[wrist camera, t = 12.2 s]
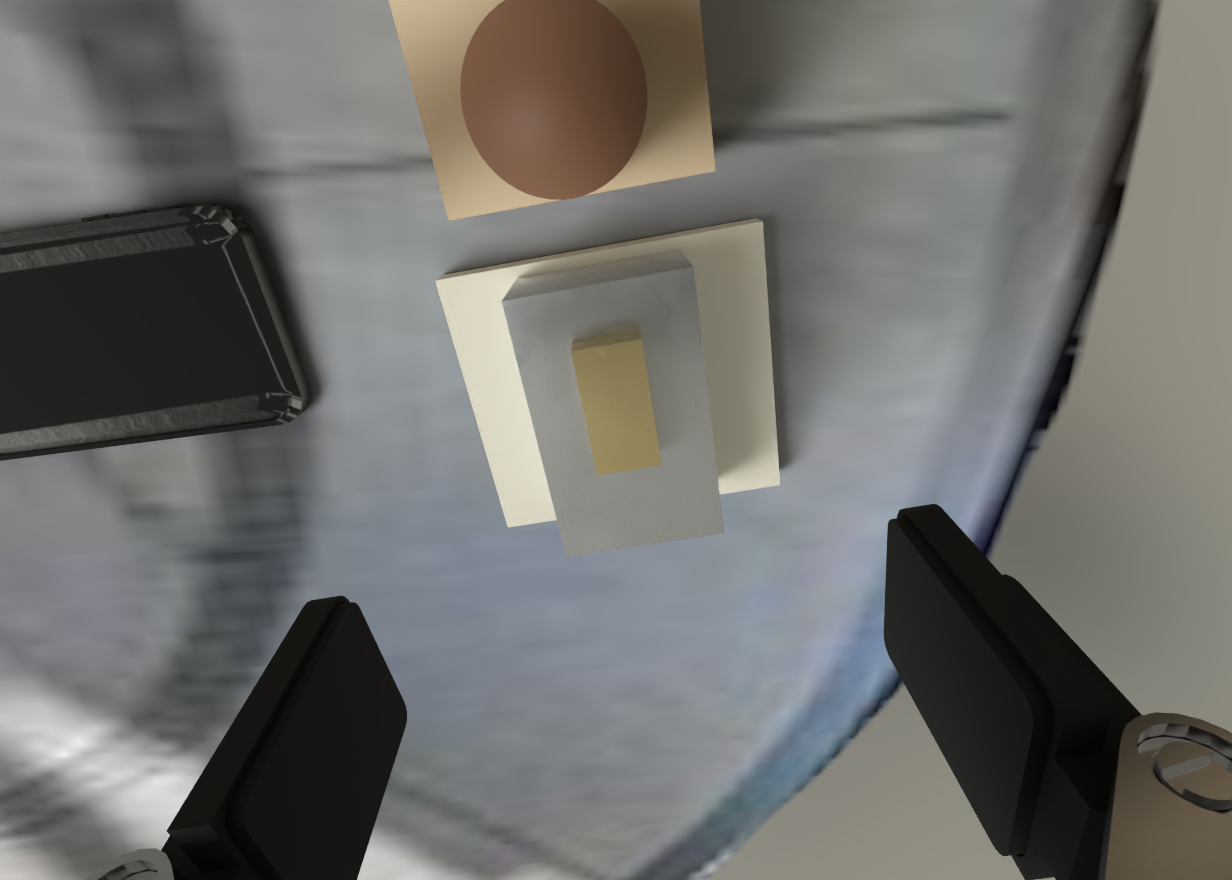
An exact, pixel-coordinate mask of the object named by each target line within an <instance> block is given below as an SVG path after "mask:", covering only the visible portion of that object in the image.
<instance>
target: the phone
mask: <svg viewBox="0 0 1232 880" xmlns="http://www.w3.org/2000/svg"><path fill="white" fill-rule="evenodd" d="M114 215H115V218H110V216H109V215H102V216H95V217H88V218H81V220H82V222H80V223H73V224H66V225H59V226H52V227H45V228H38V229H31V230H24V231H18V232H11V233H4V234H0V461H2V460H9V459H17V458H25V457H33V456H41V455H48V454H56V453H64V452H72V451H80V450H87V449H95V448H103V447H111V446H118V445H126V444H134V443H142V442H150V441H157V440H165V439H173V438H181V437H189V436H196V435H204V434H212V433H220V432H228V431H235V430H243V429H251V428H259V427H267V426H274V425H281V424H285V423H288V422H290V421H292V420H293V419H295V418H296V417H297V416H298V415H299V414H301V413H302V412H303V411H304V410H305V409H306V407H307V406H308V404H309V402H310V396H311V393H310V388H309V384H308V381H307V378H306V375H305V373H304V370H303V367H302V365H301V362H300V359H299V356H298V354H297V351H296V348H295V345H294V343H293V340H292V337H291V334H290V332H289V329H288V326H287V324H286V321H285V318H284V315H283V313H282V310H281V307H280V304H279V302H278V299H277V296H276V294H275V291H274V288H273V285H272V283H271V280H270V277H269V274H268V272H267V269H266V266H265V264H264V261H263V258H262V255H261V253H260V250H259V247H258V244H257V242H256V239H255V236H254V234H253V232H252V230H251V228H250V227H249V225H248V224H247V223H246V221H245V220H244V219H243V218H242V217H241V216H240V215H239V214H237V213H236V212H234V211H233V210H231V209H230V208H227V207H224V206H221V205H217V204H205V205H198V206H191V207H184V208H179V207H178V206H173V207H166V208H159V211H157V212H150V213H146V211H145V210H141V211H134V212H127V213H120V214H114Z"/></svg>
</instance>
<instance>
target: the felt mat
mask: <svg viewBox="0 0 1232 880" xmlns="http://www.w3.org/2000/svg"><path fill="white" fill-rule="evenodd" d="M679 248H680V249H681V251H682V252H683V253H684V255H685V256H686V257H687V259H688V260H689V261H690V263H691V264H692V266H693V267H694V275H695V283H696V292H697V301H698V309H699V318H700V327H701V336H702V344H703V353H704V362H705V371H706V379H707V388H708V397H709V405H710V414H711V423H712V432H713V440H714V449H715V458H716V466H717V475H718V484H719V493H720V494H726V493H732V492H739V491H745V490H752V489H758V488H765V487H771V486H777V485H780V476H779V461H778V445H777V430H776V415H775V399H774V384H773V369H772V353H771V338H770V323H769V307H768V292H767V277H766V261H765V246H764V231H763V221H761V220H759V219H757V218H754V219H749V220H743V221H738V222H732V223H727V224H721V225H715V226H710V227H704V228H699V229H693V230H688V231H682V232H677V233H671V234H666V235H660V236H655V237H649V238H644V239H638V240H633V241H627V242H622V243H616V244H611V245H605V246H599V247H594V248H588V249H583V250H577V251H572V252H566V253H561V254H555V255H550V256H544V257H539V258H533V259H528V260H522V261H517V262H511V263H506V264H500V265H495V266H489V267H484V268H478V269H472V270H467V271H461V272H456V273H450V274H445V275H442V276H440V277H439V278H438V279H437V280H435V281H436V285H437V288H438V292H439V295H440V298H441V302H442V305H443V309H444V312H445V315H446V319H447V322H448V326H449V329H450V332H451V336H452V339H453V343H454V346H455V349H456V353H457V356H458V360H459V363H460V366H461V370H462V373H463V377H464V380H465V383H466V387H467V390H468V394H469V397H470V400H471V404H472V407H473V411H474V414H475V417H476V421H477V424H478V427H479V431H480V434H481V438H482V441H483V444H484V448H485V451H486V455H487V458H488V461H489V465H490V468H491V472H492V475H493V478H494V482H495V485H496V489H497V492H498V495H499V499H500V502H501V506H502V509H503V512H504V516H505V519H506V523H507V526H508V527H514V526H521V525H527V524H534V523H540V522H546V521H553V520H557V519H556V515H555V511H554V507H553V503H552V499H551V495H550V491H549V487H548V483H547V479H546V475H545V471H544V467H543V463H542V459H541V456H540V452H539V448H538V444H537V440H536V436H535V432H534V428H533V424H532V420H531V416H530V412H529V408H528V404H527V400H526V396H525V392H524V388H523V384H522V380H521V376H520V372H519V368H518V364H517V360H516V356H515V352H514V348H513V344H512V340H511V337H510V333H509V329H508V325H507V321H506V317H505V313H504V309H503V305H502V300H503V298H504V297H505V295H506V294H507V292H508V291H509V289H510V288H511V286H512V285H513V283H514V282H515V280H516V279H517V277H523V276H528V275H534V274H540V273H545V272H551V271H556V270H562V269H567V268H573V267H579V266H584V265H590V264H595V263H601V262H606V261H612V260H618V259H623V258H629V257H634V256H640V255H645V254H651V253H657V252H662V251H668V250H673V249H679Z"/></svg>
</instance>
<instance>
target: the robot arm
mask: <svg viewBox="0 0 1232 880" xmlns="http://www.w3.org/2000/svg"><path fill="white" fill-rule="evenodd" d="M884 641H885V646H886V649H887V652H888V655H889V657H890V659H891V661H892V662H893V664H894V666H895V668H896V670H897V671H898V673H899V675H900V677H901V679H902V681H903V682H904V684H905V686H906V688H907V690H908V691H909V693H910V695H911V697H912V699H913V701H914V702H915V704H916V706H917V708H918V710H919V711H920V713H921V715H922V717H923V719H924V720H925V722H926V724H927V726H928V728H929V729H930V731H931V733H932V735H933V737H934V739H935V741H936V742H937V744H938V746H939V748H940V750H941V751H942V753H943V755H944V757H945V759H946V761H947V762H948V764H949V766H950V768H951V770H952V771H953V773H954V775H955V777H956V779H957V781H958V782H959V784H960V786H961V788H962V789H963V791H964V793H965V795H966V797H967V799H968V800H969V802H970V804H971V806H972V808H973V809H974V811H975V813H976V815H977V817H978V818H979V820H980V822H981V824H982V826H983V828H984V829H985V831H986V833H987V835H988V837H989V838H990V840H991V842H992V844H993V846H994V847H995V849H996V850H997V851H998V852H999V853H1000V854H1001V855H1002V856H1008V855H1011V856H1012V858H1013V859H1014V861H1015V863H1016V865H1017V866H1018V868H1019V870H1020V872H1021V874H1022V875H1023V877H1024V879H1025V880H1034V879H1042V878H1050V877H1055V879H1056V880H1232V733H1231V732H1229V731H1227V730H1225V729H1223V728H1220V727H1218V726H1216V725H1213V724H1211V723H1209V722H1206V721H1204V720H1201V719H1197V718H1193V717H1189V716H1185V715H1181V714H1177V713H1156V712H1155V713H1150V714H1146V715H1141V714H1140V713H1139V712H1138V710H1137V709H1136V708H1135V707H1134V706H1133V705H1132V704H1131V703H1130V702H1129V701H1128V700H1127V699H1126V697H1125V696H1124V695H1123V694H1122V693H1121V692H1120V691H1119V690H1118V689H1117V688H1116V687H1115V686H1114V684H1113V683H1112V682H1111V681H1110V680H1109V679H1108V678H1107V677H1106V676H1105V675H1104V674H1103V672H1102V671H1100V669H1099V668H1098V667H1097V666H1096V665H1095V664H1094V663H1093V662H1092V661H1091V659H1090V658H1089V657H1088V656H1087V655H1086V654H1085V653H1084V652H1083V651H1082V650H1081V649H1080V648H1079V646H1078V645H1077V644H1076V643H1075V642H1074V641H1073V640H1072V639H1071V638H1070V637H1069V636H1068V635H1067V634H1066V632H1065V631H1064V630H1063V629H1062V628H1061V627H1060V626H1059V625H1058V624H1057V623H1056V622H1055V621H1054V620H1053V618H1052V617H1051V616H1050V615H1049V614H1048V613H1047V612H1046V611H1045V610H1044V609H1043V608H1042V606H1041V605H1040V604H1039V603H1038V602H1037V601H1036V600H1035V599H1034V598H1033V597H1032V596H1031V595H1030V593H1029V592H1028V591H1027V590H1026V589H1025V588H1024V587H1023V586H1022V585H1021V584H1020V583H1019V582H1018V581H1017V580H1016V579H1014V578H1013V577H1011V576H1008V575H1006V574H1005V575H1001V573H1000V572H999V571H998V570H997V569H996V568H995V567H994V566H993V565H992V563H991V562H990V561H989V560H988V559H987V558H986V557H985V556H984V555H983V553H982V552H981V551H980V550H979V549H978V548H977V547H976V546H975V545H974V543H973V542H972V541H971V540H970V539H969V538H968V537H967V536H966V535H965V533H964V532H963V531H962V530H961V529H960V528H959V527H958V526H957V525H956V523H955V522H954V521H953V520H952V519H951V518H950V517H949V516H948V515H947V513H946V512H945V511H944V510H943V509H942V508H941V507H940V506H939V505H936V504H930V505H924V506H918V507H911V508H905V509H901V510H899V513H898V516H897V519H891V520H890V521H889V523H888V534H887V561H886V588H885V615H884ZM406 722H407V710H406V705H405V703H404V700H403V698H402V696H401V694H400V692H399V690H398V688H397V686H396V684H395V681H394V679H393V677H392V675H391V673H390V671H389V669H388V667H387V664H386V662H385V660H384V658H383V656H382V654H381V652H380V650H379V648H378V645H377V643H376V641H375V639H374V637H373V635H372V633H371V631H370V629H369V626H368V624H367V622H366V620H365V618H364V616H363V614H362V612H361V609H360V608H359V606H358V605H357V604H356V603H353V602H352V603H350V602H349V600H348V599H347V598H346V597H344V596H336V597H330V598H323V599H317V600H311V601H309V602H307V603H306V604H305V606H304V607H303V609H302V610H301V612H300V613H299V615H298V617H297V618H296V620H295V622H294V623H293V625H292V627H291V628H290V630H289V631H288V633H287V635H286V636H285V638H284V640H283V641H282V643H281V645H280V646H279V648H278V649H277V651H276V653H275V654H274V656H273V658H272V659H271V661H270V663H269V664H268V666H267V667H266V669H265V671H264V672H263V674H262V676H261V677H260V679H259V681H258V682H257V684H256V686H255V687H254V689H253V690H252V692H251V694H250V695H249V697H248V699H247V700H246V702H245V704H244V705H243V707H242V708H241V710H240V712H239V713H238V715H237V717H236V718H235V720H234V722H233V723H232V725H231V726H230V728H229V730H228V731H227V733H226V735H225V736H224V738H223V740H222V741H221V743H220V744H219V746H218V748H217V749H216V751H215V753H214V754H213V756H212V758H211V759H210V761H209V762H208V764H207V766H206V767H205V769H204V771H203V772H202V774H201V776H200V777H199V779H198V780H197V782H196V784H195V785H194V787H193V789H192V790H191V792H190V794H189V795H188V797H187V799H186V800H185V802H184V803H183V805H182V807H181V808H180V810H179V812H178V813H177V815H176V817H175V818H174V820H173V821H172V823H171V825H170V826H169V828H168V830H167V832H168V833H169V834H170V837H169V838H168V840H167V842H166V843H165V845H164V847H163V848H162V850H161V851H160V850H157V849H139V850H136V851H134V852H131V853H128V854H125V855H122V856H120V857H119V858H117V859H115V860H113V861H111V862H110V863H108V864H106V865H104V866H103V867H101V868H100V869H99V870H98V871H96V872H95V873H94V874H92V875H91V876H90V877H89V878H87V879H86V880H357V877H358V874H359V871H360V868H361V865H362V862H363V859H364V855H365V852H366V849H367V846H368V843H369V840H370V837H371V833H372V830H373V827H374V824H375V821H376V818H377V815H378V812H379V808H380V805H381V802H382V799H383V796H384V793H385V790H386V786H387V783H388V780H389V777H390V774H391V771H392V768H393V765H394V761H395V758H396V755H397V752H398V749H399V746H400V743H401V739H402V736H403V733H404V730H405V727H406Z"/></svg>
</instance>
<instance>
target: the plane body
mask: <svg viewBox="0 0 1232 880" xmlns="http://www.w3.org/2000/svg"><path fill="white" fill-rule="evenodd" d="M389 3H390V7H391V10H392V14H393V18H394V21H395V25H396V28H397V32H398V36H399V39H400V43H401V47H402V50H403V54H404V58H405V61H406V65H407V69H408V72H409V76H410V80H411V83H412V87H413V91H414V94H415V98H416V102H417V105H418V109H419V113H420V116H421V120H422V124H423V127H424V131H425V135H426V138H427V142H428V145H429V149H430V153H431V156H432V160H433V164H434V167H435V171H436V175H437V178H438V182H439V186H440V189H441V193H442V197H443V200H444V204H445V208H446V211H447V215H448V219H449V221H451V220H456V219H461V218H467V217H472V216H477V215H483V214H488V213H494V212H499V211H504V210H510V209H515V208H520V207H526V206H531V205H537V204H542V203H547V202H553V201H558V200H564V199H572V198H577V197H580V196H585V195H590V194H596V193H601V192H606V191H612V190H617V189H623V188H628V187H633V186H639V185H644V184H649V183H655V182H660V181H665V180H671V179H676V178H682V177H687V176H692V175H698V174H703V173H708V172H714V171H716V170H715V159H714V148H713V138H712V127H711V116H710V105H709V95H708V84H707V73H706V63H705V52H704V41H703V30H702V20H701V9H700V0H389Z"/></svg>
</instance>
